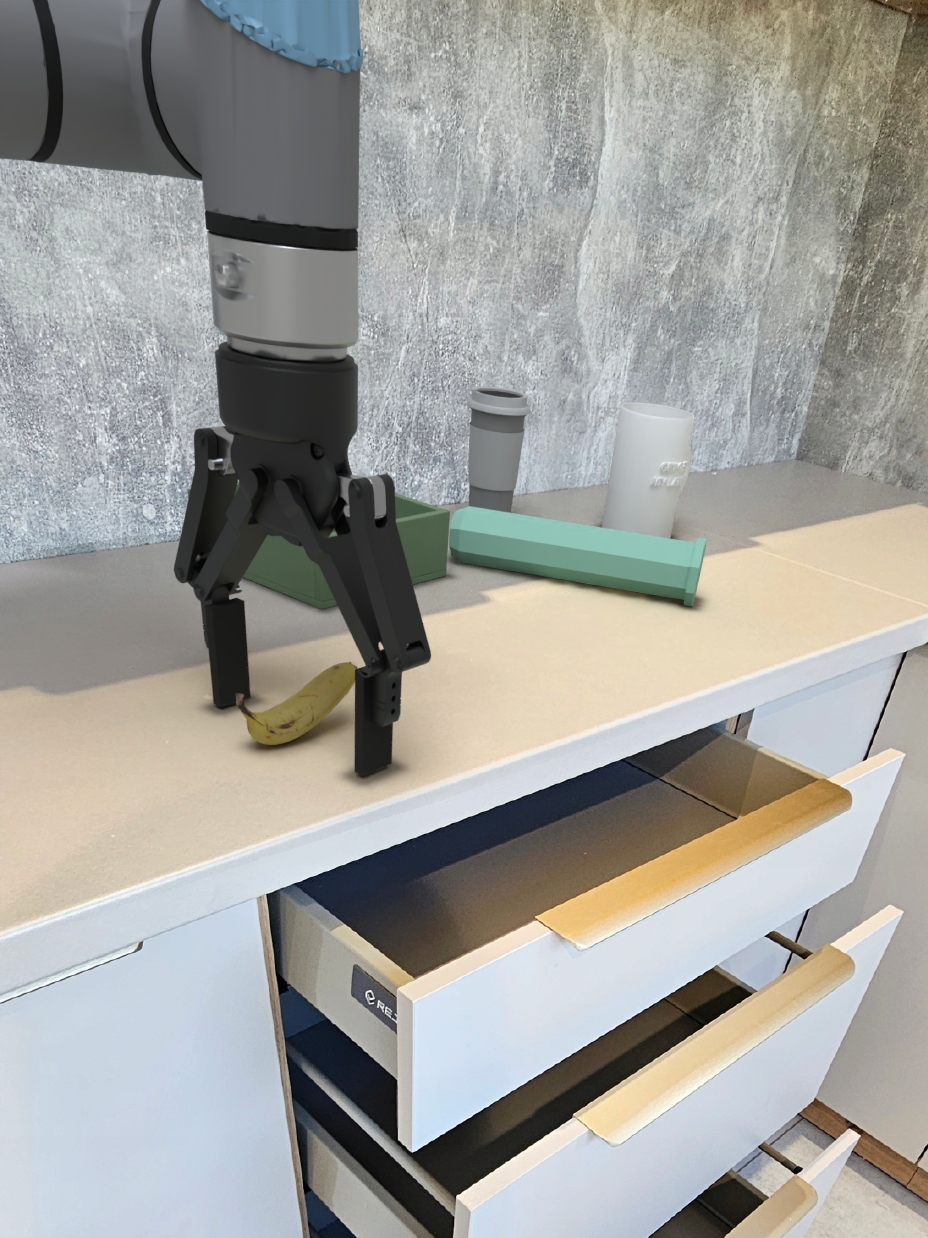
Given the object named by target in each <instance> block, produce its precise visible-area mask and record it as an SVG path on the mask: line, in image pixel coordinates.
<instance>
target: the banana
mask: <svg viewBox="0 0 928 1238" xmlns="http://www.w3.org/2000/svg"><path fill="white" fill-rule="evenodd" d="M355 669H358V666H356V665H355V664H353V662H352V661H349V662H348V661H345V662H339V663H336V664H333V665H332V666H329V667H328V668H325V670H322V671H321V672H320V673H318V674H317V675H316V676H314V678H312V679H311V680H309V682H307V683H306V684H305V685H304V686H302V687H301V688H300V689H299V690H298V691H297V692H295V693H294V694H293V695H291V696H290V697H288V698H287V699H285V700H283V701H282V702H280V703H278V704H277V705H275V706H273V707H271V708H269V709H267V710H263V711H257V712H256V711H255V712H253V711H251V710H250V709H248V708H247V707H246V706H245V702H244V700H243V698H244V696H245V695H244V694H242V693H235V695H236V704H235V705H236V707H237V708H238V710H239V711H240V712H241V713H242V715H243V716H244V718H245V720H246V728H247V729H246V730H247V733H248V734H249V735H250V737H251V738H252V739H253V740H254V741H256V742H258V743H259V744H262V745H267V746H276V745H277V746H278V745H282V744H285V743H288V742H291V741H293V740H295V739H298V738H300V737H302V736H303V735H304V734H306V733H308V732H309V731H311V730H312V729H313V728H315V726H316V725H318V724H319V723H320V722H321V721H322V720H323V719H324V718H326V716H328V715H329V714H330V713H331V712H332V711H333V710H334V709H335V708H336V707H337V706H338V704H339V703H340V702H341V701H342V700H344V698H345V697H346V696H347V695H348V694H349V692H350V690H351V689H352V687H353V686H354V685H355Z"/></svg>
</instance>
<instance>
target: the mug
mask: <svg viewBox="0 0 928 1238" xmlns="http://www.w3.org/2000/svg"><path fill="white" fill-rule="evenodd" d="M694 424H695V415H694V413H692V412H690V411H688V410H684V409H681V408H677V407H673V406H669V405H664V404H657V403H656V404H655V403H649V402H624V403H622V404H621V406H620V407H619V412H618V419H617V425H616V432H615V439H614V443H613V450H612V451H613V452H612V457H611V464H610V470H609V475H608V483H607V489H606V496H605V503H604V508H603V515H602V522H601V528H607V529H614V530H620V531H626V532H632V533H638V534H645V535H651V536H657V537H663V538H669V539H672V538H671V537H672V533H673V528H674V524H675V518H676V513H677V508H678V503H679V499H680V497H681V496H682V493H683V491H684V490H685V487H686V485H687V482H688V480H689V479H688V478H689V475H690V471H691V466H692V465H691V464H692V447H691V438H692V433H693V428H694Z"/></svg>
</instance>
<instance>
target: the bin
mask: <svg viewBox="0 0 928 1238" xmlns="http://www.w3.org/2000/svg"><path fill="white" fill-rule="evenodd" d="M238 489H239V480H238V483H237V488H236V492H237V491H238ZM190 490H191V488H188V489H187V498H188V499H189V494H190ZM236 492H235V494H236ZM395 509H396V524H397V528H398V531H399V535H400V539H401V543H402V546H403V550H404V554H405V558H406V561H407V565H408V569H409V573H410V576H411V580H412V584H413V585H417V584H421V583H423V582H428V581H431V580H435V579H440V578H443V577H446V576H447V567H448V554H449V553H448V549H449V535H450V522H451V521H450V520H451V519H450V517H451V511H450V510H448V509H445V508H442V507H438V506H436V505H433V504H430V503H427V502H424V501H420V500H418V499H415V498H411V497H409V496H405V495H403V494H400V493H396V492H395ZM334 536H337V533H336V531H335V529H333V531H332V533H331V535H330V536H329V537H328V538H330V537H334ZM196 559H199V555H197V557H196ZM243 578H244V579H247V580H249V581H252V582H254V583H256V584H259V585H262V586H263V587H267V588H269V589H271V590H273V591H276V592H278V593H281V594H283V595H285V596H289V597H291V598H293V599H296V600H298V601H301V602H303V603H306V604H308V605H310V606H313V607H315V608H318V609H320V610H325V609H329V608H333V607H336V606H338V605H337V603H336V601H335V599H334V597H333V595H332V593H331V590H330V588H329V586H328V584H327V582H326V580H325V578H324V575H323V573H322V571H321V569H320V567H319V565H318V564H317V563H314V562H312V561H311V560H310V559H309V558H308V556H307V554H306V552H305V550H304V548H303V546H300V547H299V546H296V545H294V544H291V543H289V542H288V541H287V540H285V539H284V538H283V537H282V536H269V535H267V537H266V538H265V540H264V542H263V543H262V545H261V547H260V549H259V550H258V552H257V554H256V555H255V557H254V559H253V561H252V562H251V564H250V566H249V567H248V569H247V571H246V573H245V574H244V576H243Z"/></svg>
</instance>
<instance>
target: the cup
mask: <svg viewBox="0 0 928 1238" xmlns="http://www.w3.org/2000/svg"><path fill="white" fill-rule="evenodd" d="M466 406H468V407H469V408H470V421H469V431H468V432H469V435H468V438H469V439H468V442H469V443H468V471H467V472H468V476H467V481H468V484H469V486H468V487H469V488H468V506H471V507H477V508H483V509H490V510H496V511H502V512H508V513H512V508H513V507H512V506H513V502H514V501H513V500H514V493H515V489H516V488H517V483H518V482H517V481H518V475H519V469H520V463H521V454H522V448H523V442H524V435H525V428H524V425H525V420H526V416H528V415H529V414H530V413H531V407H530V404H529V403H528V394H527V393H525V392H522V391H520V390H517V389H516V390H515V389H512V388H507V387H499V386H489V385H488V386H487V385H481V386H480V385H479V386H474V387H472V389H471V396H469V397H468V398H467V403H466Z"/></svg>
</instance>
